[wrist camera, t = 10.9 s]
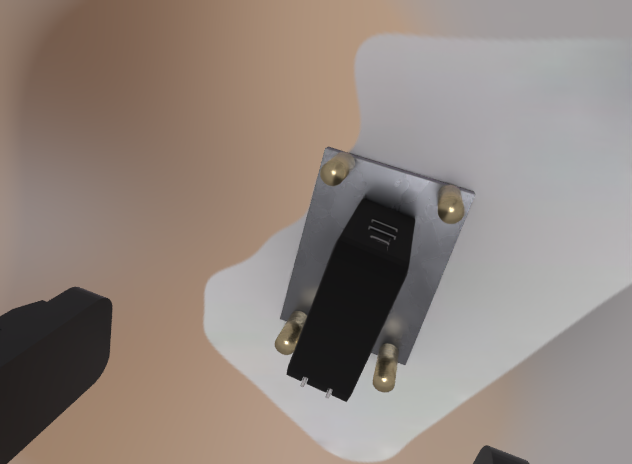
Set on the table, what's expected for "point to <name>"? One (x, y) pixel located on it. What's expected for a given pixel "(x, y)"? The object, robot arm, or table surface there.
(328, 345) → the electronic device
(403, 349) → the chassis
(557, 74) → the table surface
